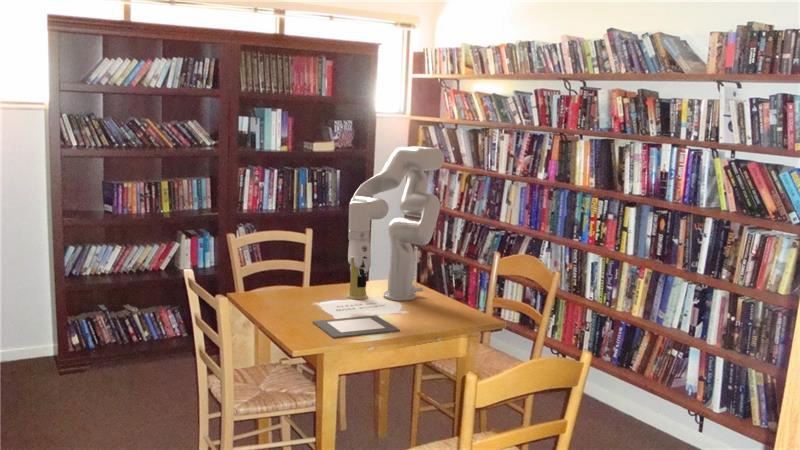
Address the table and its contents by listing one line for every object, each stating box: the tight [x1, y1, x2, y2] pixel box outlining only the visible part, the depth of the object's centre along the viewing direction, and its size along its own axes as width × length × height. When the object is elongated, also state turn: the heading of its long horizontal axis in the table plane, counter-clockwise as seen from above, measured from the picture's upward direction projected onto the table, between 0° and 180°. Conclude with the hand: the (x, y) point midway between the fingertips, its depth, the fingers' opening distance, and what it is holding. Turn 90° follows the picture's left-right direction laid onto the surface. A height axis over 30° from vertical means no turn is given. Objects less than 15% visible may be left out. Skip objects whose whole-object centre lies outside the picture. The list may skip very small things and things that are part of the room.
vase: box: [348, 256, 367, 297], centre depth 261 cm, size 6×6×14 cm
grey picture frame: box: [312, 314, 401, 339], centre depth 245 cm, size 24×18×1 cm
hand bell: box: [346, 291, 369, 300], centre depth 283 cm, size 8×8×16 cm
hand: (357, 284), depth 262 cm, fingers closed on vase, 5 cm apart
